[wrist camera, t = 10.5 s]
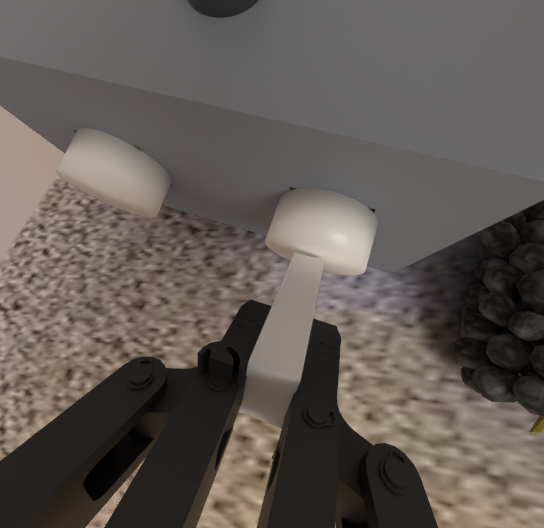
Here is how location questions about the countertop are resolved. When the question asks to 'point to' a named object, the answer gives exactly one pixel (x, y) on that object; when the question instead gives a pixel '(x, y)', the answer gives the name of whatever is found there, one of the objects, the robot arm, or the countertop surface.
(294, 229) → the knob
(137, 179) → the knob
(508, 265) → the fruit
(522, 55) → the block
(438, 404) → the countertop surface
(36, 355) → the countertop surface
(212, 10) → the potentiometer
